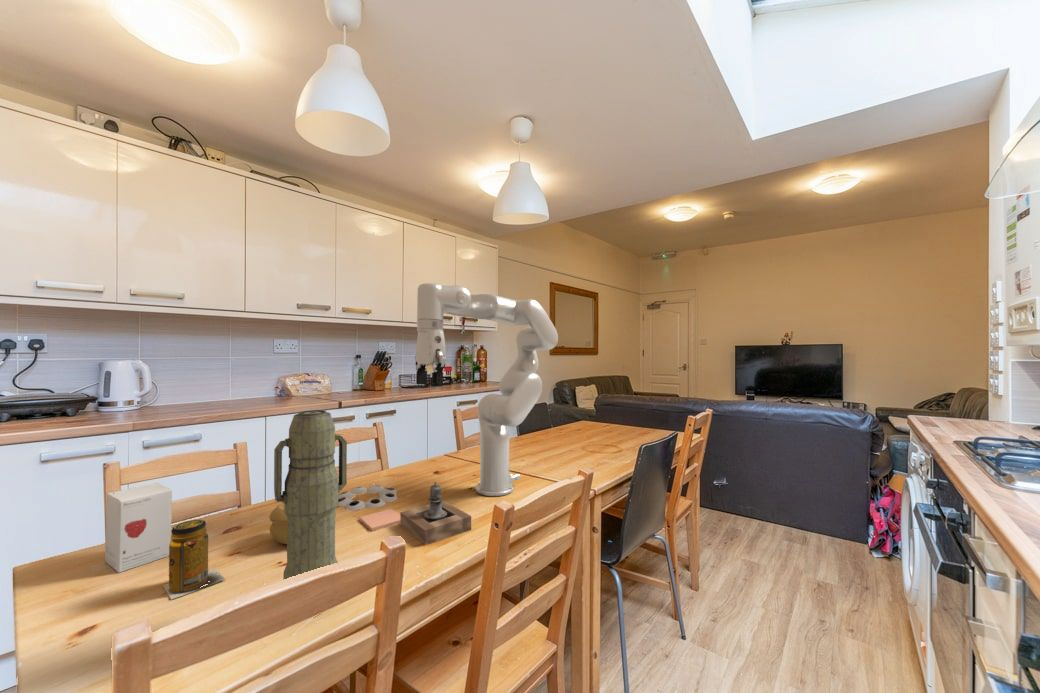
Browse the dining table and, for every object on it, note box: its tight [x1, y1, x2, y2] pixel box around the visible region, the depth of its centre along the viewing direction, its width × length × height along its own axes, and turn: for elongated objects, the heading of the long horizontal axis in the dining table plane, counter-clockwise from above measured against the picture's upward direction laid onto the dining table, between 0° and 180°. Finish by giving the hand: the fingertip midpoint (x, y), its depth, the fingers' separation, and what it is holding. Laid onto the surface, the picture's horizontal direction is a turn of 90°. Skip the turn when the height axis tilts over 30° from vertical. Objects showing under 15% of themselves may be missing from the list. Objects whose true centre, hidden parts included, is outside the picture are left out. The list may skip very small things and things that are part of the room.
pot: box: [269, 502, 287, 545], centre depth 101 cm, size 12×12×10 cm
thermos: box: [273, 409, 348, 580], centre depth 75 cm, size 9×12×35 cm
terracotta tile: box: [359, 508, 400, 532], centre depth 111 cm, size 9×9×1 cm
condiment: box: [162, 519, 226, 600], centre depth 82 cm, size 7×8×12 cm
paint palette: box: [337, 484, 399, 511], centre depth 128 cm, size 20×20×2 cm
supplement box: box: [104, 482, 173, 573], centre depth 91 cm, size 9×9×15 cm
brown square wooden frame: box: [399, 500, 472, 546], centre depth 107 cm, size 13×14×4 cm
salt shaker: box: [424, 481, 447, 523], centre depth 107 cm, size 6×6×12 cm
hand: (429, 385), depth 120 cm, fingers open, 9 cm apart
